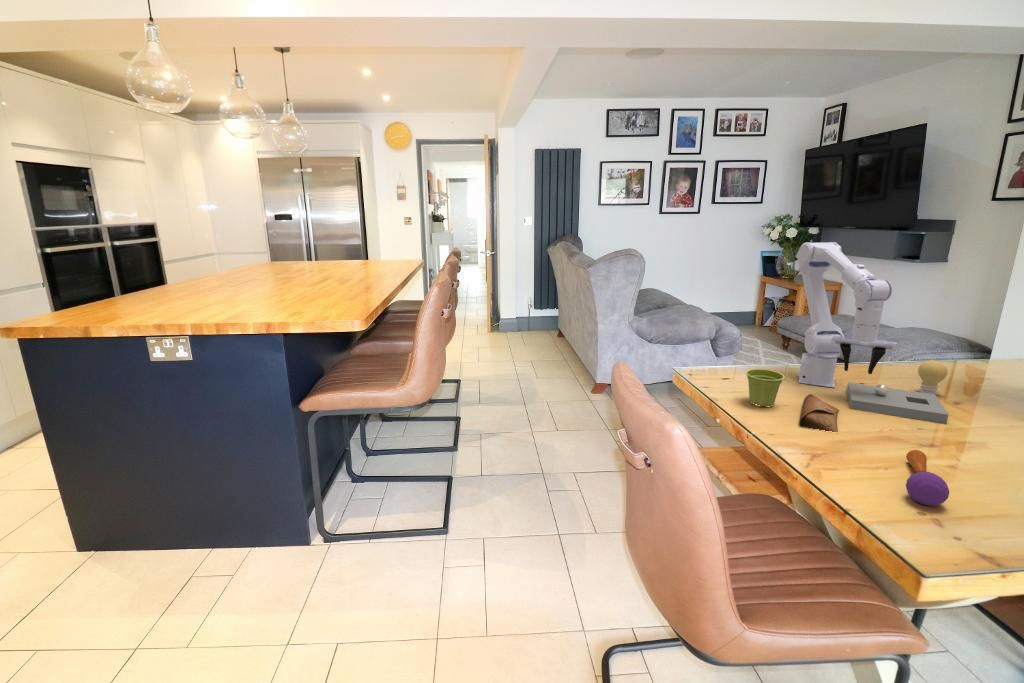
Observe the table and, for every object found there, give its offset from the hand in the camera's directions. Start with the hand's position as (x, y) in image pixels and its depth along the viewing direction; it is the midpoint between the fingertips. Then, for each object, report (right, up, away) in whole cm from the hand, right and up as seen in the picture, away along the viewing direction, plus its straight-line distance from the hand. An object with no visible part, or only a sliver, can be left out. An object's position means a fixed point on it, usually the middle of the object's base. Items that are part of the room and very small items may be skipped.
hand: (857, 371), depth 135 cm
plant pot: (-27, -9, 0) cm, 29 cm away
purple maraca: (-17, -20, -40) cm, 48 cm away
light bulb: (+25, -7, +6) cm, 26 cm away
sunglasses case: (-17, -12, -9) cm, 23 cm away
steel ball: (+5, -5, -2) cm, 7 cm away
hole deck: (+8, -9, -2) cm, 12 cm away
